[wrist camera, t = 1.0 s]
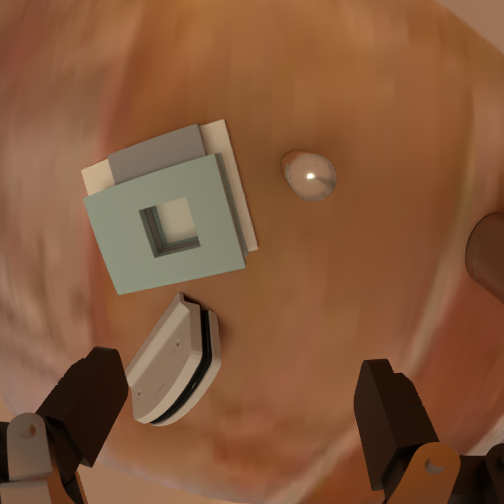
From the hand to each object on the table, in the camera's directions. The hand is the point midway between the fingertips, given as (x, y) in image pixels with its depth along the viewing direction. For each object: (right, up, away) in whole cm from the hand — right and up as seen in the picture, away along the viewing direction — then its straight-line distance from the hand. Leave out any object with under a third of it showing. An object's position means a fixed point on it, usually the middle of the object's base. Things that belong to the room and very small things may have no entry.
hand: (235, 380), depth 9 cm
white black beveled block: (-9, -8, +28) cm, 31 cm away
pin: (+5, +12, +20) cm, 24 cm away
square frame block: (-8, +9, +22) cm, 25 cm away
